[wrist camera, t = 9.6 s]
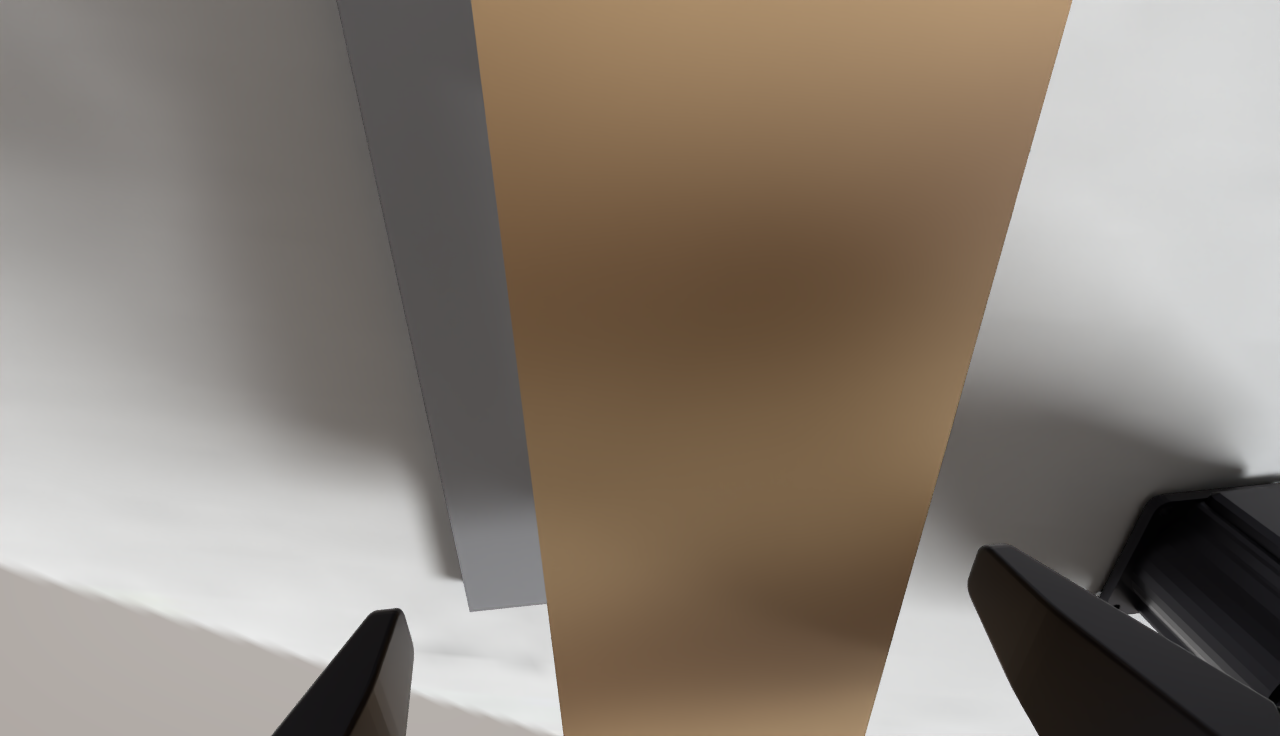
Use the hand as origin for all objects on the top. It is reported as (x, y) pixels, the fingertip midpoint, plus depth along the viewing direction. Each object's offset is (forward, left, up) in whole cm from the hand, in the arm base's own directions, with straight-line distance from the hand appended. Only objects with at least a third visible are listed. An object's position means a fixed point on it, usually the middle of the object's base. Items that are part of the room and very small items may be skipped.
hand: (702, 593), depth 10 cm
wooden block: (0, 0, -4) cm, 4 cm away
